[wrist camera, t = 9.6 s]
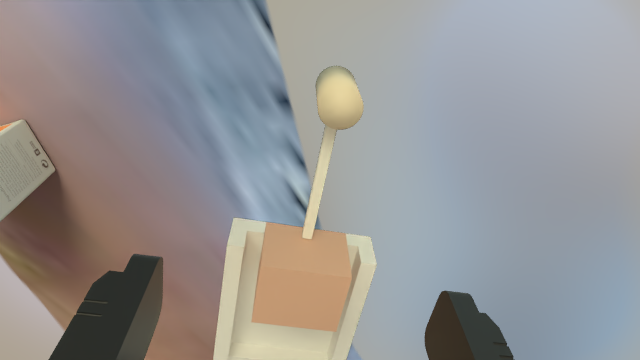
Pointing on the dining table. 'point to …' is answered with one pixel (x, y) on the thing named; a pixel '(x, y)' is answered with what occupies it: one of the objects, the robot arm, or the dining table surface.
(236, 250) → the shelf lane
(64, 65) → the dining table surface
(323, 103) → the peach block with knob
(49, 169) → the skincare box
